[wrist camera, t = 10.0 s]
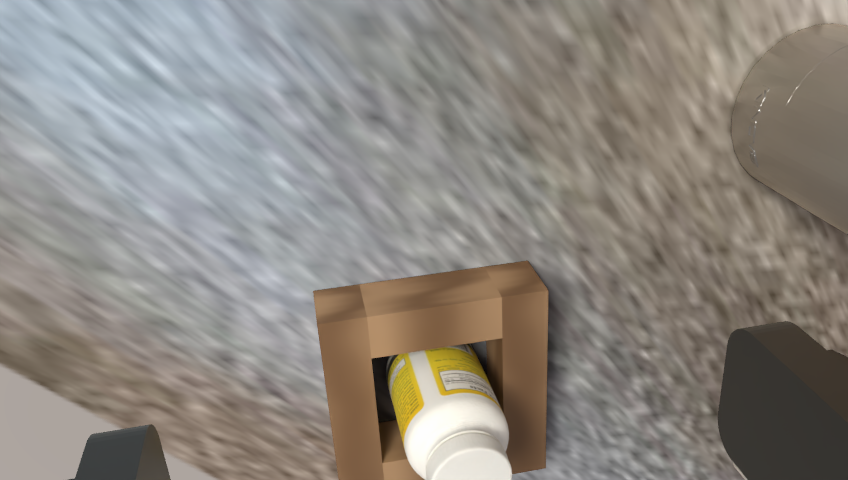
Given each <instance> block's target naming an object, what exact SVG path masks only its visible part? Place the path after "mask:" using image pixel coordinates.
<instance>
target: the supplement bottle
mask: <svg viewBox="0 0 848 480" xmlns="http://www.w3.org/2000/svg"><path fill="white" fill-rule="evenodd" d="M386 379H387V384H388V388H389V392H390V396H391V399H392V403H393V406H394V410H395V414H396V418H397V422H398V426H399V430H400V433H401V437H402V442H403V446H404V450H405V453H406V456H407V459H408V461H409V463H410V465H411V467H412V468H413V469H414V470H415V472H416V473H417V474H418V475H420V476H421V477H422V478H423V479H425V480H512V468H511V465H510V462H509V460H508V457H507V454H506V449H507V446H508V441H509V429H508V425H507V421H506V418H505V416H504V413H503V411H502V409H501V407H500V405H499V403H498V401H497V398H496V396H495V394H494V392H493V390H492V388H491V385H490V383H489V381H488V379H487V377H486V375H485V373H484V370H483V368H482V366H481V364H480V362H479V360H478V357H477V355H476V353H475V351H474V350H473V348H472V346H471V345H470V344H469V343H468V344H462V345H456V346H449V347H443V348H436V349H430V350H423V351H417V352H411V353H404V354H398V355H391V356H390V357H389V359H388V362H387V366H386Z"/></svg>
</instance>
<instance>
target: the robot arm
mask: <svg viewBox="0 0 848 480" xmlns="http://www.w3.org/2000/svg"><path fill="white" fill-rule="evenodd" d="M731 136H732V141H733V146H734V151H735V153H736V155H737V157H738V159H739V162H740V164H741V165H742V166H743V167H744V169H745V170H746V171H747V172H748V173H749V174H750V175H751V176H752V177H754V178H755V179H757V180H758V181H760V182H761V183H763V184H765V185H766V186H768V187H770V188H771V189H773V190H775V191H776V192H778V193H780V194H781V195H783V196H785V197H786V198H788V199H789V200H791V201H793V202H794V203H796V204H797V205H799V206H800V207H802V208H804V209H805V210H807V211H809V212H810V213H812V214H814V215H815V216H817V217H819V218H820V219H822V220H824V221H825V222H827V223H829V224H830V225H832V226H834V227H835V228H837V229H839V230H840V231H842V232H844V233H845V234H847V235H848V26H845V25H839V24H821V25H814V26H811V27H808V28H805V29H801V30H798V31H797V32H795V33H793V34H791V35H789V36H788V37H786V38H784V39H782V40H781V41H780V42H778V43H777V44H776V45H775V46H773V47H772V48H771V49H770V50H768V51H767V52H766V53H765V54H764V55H763V57H762V58H761V59H760V60H759V61H758V62H757V63H756V64H755V66H754V67H753V68H752V70H751V71H750V73H749V75H748V76H747V78H746V79H745V81H744V83H743V85H742V87H741V89H740V92H739V94H738V97H737V99H736V102H735V106H734V111H733V115H732V132H731ZM718 426H719V432H720V436H721V440H722V442H723V445H724V447H725V450H726V452H727V453H728V455H729V457H730V458H731V460H732V461H733V462H734V464H735V465H736V466H737V467H738V468H739V470H740V471H741V472H742V473H743V475H744V476H745V477H746V478H747V480H848V357H846V356H844V355H842V354H840V353H837V352H835V351H833V350H826V349H825V348H823V347H822V346H821V345H820V344H819V343H817V342H816V341H815V340H814V339H812V338H811V337H810V336H809V335H808V334H806V333H805V332H804V331H803V330H802V329H800V328H799V327H798V326H796V325H795V324H793V323H791V322H787V321H785V322H778V323H772V324H766V325H760V326H754V327H748V328H742V329H737V330H735V331H734V332H733V333H732V334H731V335H730V337H729V340H728V345H727V352H726V359H725V367H724V374H723V382H722V389H721V396H720V404H719V411H718ZM69 480H171V479H170V476H169V472H168V468H167V465H166V461H165V458H164V453H163V450H162V446H161V442H160V439H159V435H158V433H157V430H156V428H155V427H154V426H153V425H152V424H151V425H145V426H139V427H133V428H127V429H121V430H115V431H109V432H103V433H96V434H92V435H91V436H90V437H89V438H88V440H87V443H86V446H85V449H84V452H83V455H82V458H81V462H80V465H79V468H78V471H77V474H76V477H75V479H69Z"/></svg>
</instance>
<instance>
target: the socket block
mask: <svg viewBox="0 0 848 480" xmlns="http://www.w3.org/2000/svg"><path fill="white" fill-rule="evenodd" d="M313 293H314V302H315V310H316V318H317V326H318V334H319V341H320V348H321V355H322V362H323V370H324V377H325V384H326V391H327V398H328V406H329V413H330V420H331V427H332V434H333V442H334V449H335V456H336V463H337V470H338V478H339V480H425V479H423V478H422V477H421V476H420V475H418V474H417V473H416V472H415V470H414V469H413V468H412V467H411V465H410V463H409V461H408V459H407V456H406V453H405V450H404V446H403V442H402V437H401V433H400V430H399V426H398V422H397V420H393V421H387V422H381V423H378V416H377V407H376V397H375V388H374V378H373V369H372V358H379V357H385V356H391V355H398V354H404V353H411V352H417V351H423V350H430V349H436V348H443V347H449V346H456V345H462V344H468V343H475V342H481V341H486V348H487V379H488V381H489V383H490V385H491V388H492V390H493V392H494V394H495V396H496V398H497V401H498V403H499V405H500V407H501V409H502V411H503V413H504V416H505V418H506V421H507V425H508V429H509V441H508V446H507V449H506V454H507V457H508V460H509V462H510V465H511V468H512V474H516V473H521V472H527V471H532V470H538V469H543V468H546V408H547V344H548V289H547V288H546V286H545V285H544V283H543V282H542V281H541V279H540V278H539V276H538V275H537V273H536V272H535V271H534V269H533V268H532V266H531V265H530V263H529V262H528V261H522V262H515V263H508V264H501V265H494V266H487V267H480V268H473V269H465V270H458V271H451V272H444V273H437V274H430V275H423V276H416V277H409V278H402V279H395V280H388V281H380V282H373V283H366V284H359V285H352V286H345V287H338V288H331V289H324V290H317V291H313Z"/></svg>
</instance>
